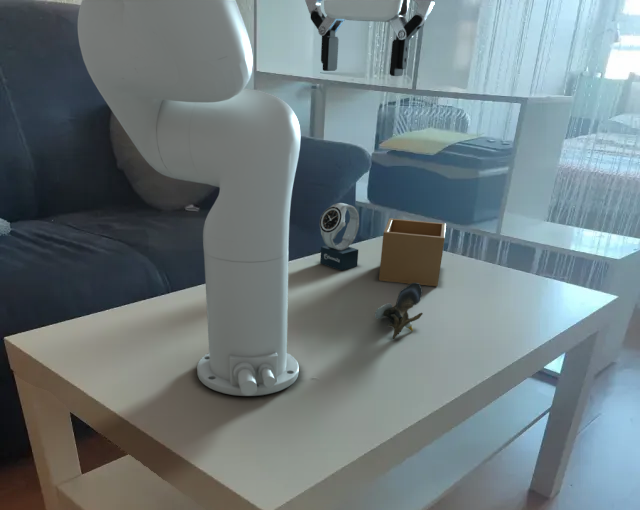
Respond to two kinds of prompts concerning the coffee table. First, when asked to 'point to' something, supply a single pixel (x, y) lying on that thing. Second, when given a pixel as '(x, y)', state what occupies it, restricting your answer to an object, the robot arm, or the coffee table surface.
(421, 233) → the box
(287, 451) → the coffee table surface
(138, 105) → the robot arm
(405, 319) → the eagle figurine
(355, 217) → the watch
